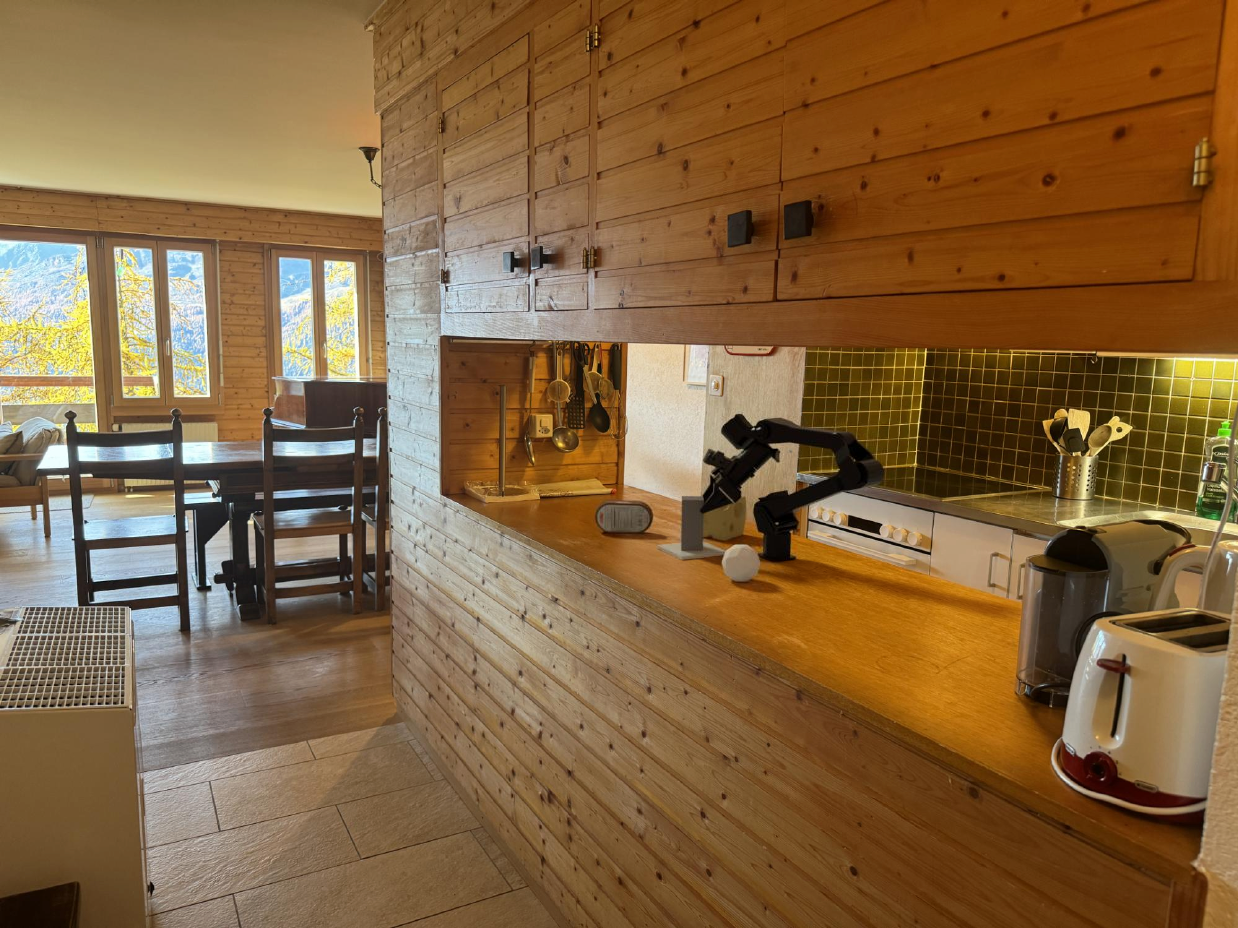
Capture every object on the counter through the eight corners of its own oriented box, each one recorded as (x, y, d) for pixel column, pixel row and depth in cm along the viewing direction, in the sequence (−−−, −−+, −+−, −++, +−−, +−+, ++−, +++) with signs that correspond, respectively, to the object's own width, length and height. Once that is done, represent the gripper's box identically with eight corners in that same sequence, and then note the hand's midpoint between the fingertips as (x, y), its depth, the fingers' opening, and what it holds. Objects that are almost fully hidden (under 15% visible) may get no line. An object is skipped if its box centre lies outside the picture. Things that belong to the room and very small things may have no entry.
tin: (653, 532, 226) (653, 500, 225) (652, 534, 223) (652, 502, 222) (595, 530, 228) (595, 499, 226) (594, 533, 224) (594, 501, 223)
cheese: (725, 541, 216) (726, 502, 214) (689, 535, 222) (689, 497, 221) (746, 534, 224) (747, 496, 223) (710, 528, 230) (711, 491, 229)
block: (702, 545, 207) (702, 496, 206) (702, 550, 202) (703, 500, 201) (681, 545, 208) (681, 496, 206) (681, 550, 203) (682, 499, 201)
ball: (735, 595, 179) (716, 568, 176) (732, 572, 186) (714, 546, 183) (768, 580, 177) (750, 552, 174) (764, 557, 184) (746, 530, 181)
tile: (726, 554, 202) (726, 551, 202) (681, 559, 197) (681, 556, 197) (700, 543, 213) (700, 540, 213) (657, 548, 208) (657, 545, 208)
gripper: (721, 433, 210) (674, 477, 212) (727, 442, 192) (676, 491, 194) (753, 465, 211) (706, 509, 213) (762, 477, 192) (711, 526, 194)
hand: (699, 508), depth 203 cm, fingers open, 9 cm apart
